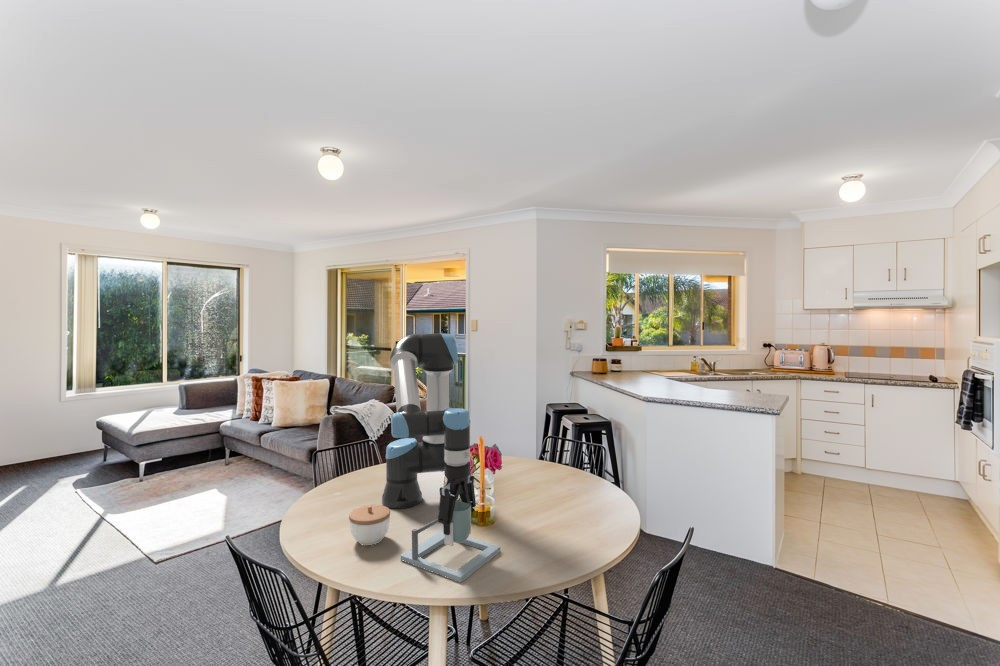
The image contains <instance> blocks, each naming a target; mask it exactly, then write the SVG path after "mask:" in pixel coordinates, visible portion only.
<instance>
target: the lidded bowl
mask: <svg viewBox="0 0 1000 666" xmlns="http://www.w3.org/2000/svg"><path fill="white" fill-rule="evenodd" d="M390 509H391V508H389V507H386V506H384V505H383V504H368V505H362V506H360V507H357V508H355V509H353V510H351V512H349V515H348V519H349V528H350V533H351V536H352V537H353V539H355V541H356V542H358V544H359V543H360V544H363V545H371V546H373V545H372V544H375V545H377V544H376V543H378V542H380V541H381V542H382V540H383V539H384V538H385V536H386V535H387V533H388V531H389V529H390V522H391V521H390V520H391V510H390ZM381 542H380V543H381ZM360 544H359V545H360ZM378 544H379V543H378ZM363 545H362V546H363Z"/></svg>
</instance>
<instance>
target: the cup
mask: <svg viewBox="0 0 1000 666" xmlns="http://www.w3.org/2000/svg"><path fill="white" fill-rule="evenodd" d="M451 522H452V523H453V543H456V544H457V543H458V544H459V543H460V542H463V541H465V540H466V539H467V538H468V537H470V535H471V534H470V529H471V530H472V512H471V505H470V504H469V503H464V502H462V501H461V500H458V501H457V500H456V503H455V507H454V511H453V516H452V521H451ZM469 534H470V535H469Z"/></svg>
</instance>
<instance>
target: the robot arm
mask: <svg viewBox="0 0 1000 666" xmlns="http://www.w3.org/2000/svg"><path fill="white" fill-rule="evenodd" d="M389 356H390V358H389V363H390V364H389V365H390V368H391V369H392V370H393V377H394V380H393V381H394V392H395V393H394V394H395V404H396V412H394V413H392V414H391V415H390V423H391V426H390V427H391V436H392V437H393V438H395V439H397V440H394V441H391V442H390V443H389V444H388V445H387V446H386V448H385V453H386V454H385V459H386V463H385V464H386V465H385V467H386V468H385V470H386V474H385V475H386V476H385V477H386V483H385V486H384V489H383V490H384V491H383V494H382V495H381V503H382V504H381V505H382V506H386V507H388V508H389V509H407V508H412V507H415V506H417V505H419V504H420V503H422V500H423V493H422V491H421V488H420V484H419V482H418V474H422V473H423V474H425V473H436V472H441V473H442V472H443V473H444V476H445V478H446V479H447V480H446V484H445V486H441V487H440V488H439V505H438V517H437V519H438V522H437V523H440V524H442V525H443V527H442V528H443V529H444V530H443V529H442V530H443V531H444V543H443V544H444V545H446V546H449V547H453V546H454V542H453V523H452V522H451V521H452V516H453V511H454V507H455V503H456V501H457V500H458V499H459V497H460V501H462V502H464V503H469V504H470V505H471V513H474V512H475V508H476V505H477V504H476V502H477V501H476V493H475V485H474V483H475V476H474V475H471V463H470V461H471V455H470V454H471V452H470V450H471V445H470V444H471V442H470V441H471V440H470V439H471V436H470V435H471V431H470V430H471V419H470V418H471V417H470V412H469V410H468V409H466V408H462V407H461V408H459V407H456V408H453V407H450V373H452V371H454V365H457V364H458V361H459V356H458V346H457V343H456V340H455V337H454V335H452V334H451V333H419V334H418V333H413V334H409V335H405V336H403V337H402V338H401V339H399V341H398V342H397V343H396V344H395V345H394V346H393V348H392V350H391V353H390V355H389ZM417 366H422V371H423V372H425V374H426V411H422V408H421V400H420V394H419V393H420V392H419V385H418V384H419V383H418V378H417V369H416V368H417ZM418 437H419V438H420V437H422V441H420V442H419V441H418V440H417V439H416V438H418ZM398 438H400V439H398ZM471 534H472V528H471V529H470V534H469V536H470V535H471Z"/></svg>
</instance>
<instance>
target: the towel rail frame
mask: <svg viewBox="0 0 1000 666" xmlns="http://www.w3.org/2000/svg"><path fill="white" fill-rule="evenodd" d="M438 523H439V522H438V518H435V519H434V520H432V521H430V522H428V523H427V524H426V525H424V526H422V527H420V528H418V529H417V528H413V529H412V530H411V548H410V549H409V550H407V551H405V552H403V553H402V554H400V557H399V558H400V561H401V560H404V561H406V562H409V563H411V564H414V565H416V566H415V567H417V566H419V567H418V568H420V567H422V568H425V569H427V570H426V571H428V570H430V571H433V572H435V573H434V574H436V573H438V574H440V575H439V576H441V575H443V576H442V577H444V576H446V577H448V578H447V579H449V578H451V579H450V580H452V579H454V580H453V581H455V580H456V581H455V582H457V581H458V582H457V583H460V582H461V583H463V581H465V580H466V579H467V578H469V577H470V576H471V575H473V574H474V573H475V572H476V571H477V570H479V569H480V568H482V567H483V566H484V565H485V564H487V563H488V562H489V561H490V560H491V559H492V558H494V557H496V555H498V554H499V553H500V552H501V546H499V545H496V544H494V543H493V544H492V543H490V542H486V541H483V540H481V539H480V540H479V539H476V538H473V537H470V536H468V538H467V539H466V540H465V541H463V542H459V543H460V544H464V545H467V546H468V547H473V548H476V549H480V550H482V551H481V552H479V553H478V554H477V555H475V556H474V557H472V558H471V559H470V560H469V561H467V562H466V563H465V564H463V565H462V566H461V567H460V568H458V569H457V570H455V569H452V568H450V567H446V566H444V565H442V564H438V563H436V562H432V561H430V560H427V559H424V558H422V556H423V557H424V556H426V555H428V554H429V553H430V551H431V550H432V551H434V550H435V549H437V548H438V547H439V545H440V546H441V545H443V544H444V531H443V530H444V529H442V530H440V531H438V532H437V533H435V534H433V535H432V536H430V537H429V538H426V540H424V541H422V542H420V543H419V534H420V533H421V532H424V531H426V530H427V529H429V528H430V527H432V526H434V525H435V524H438ZM436 547H437V548H436ZM433 549H434V550H433ZM432 551H431V552H432ZM428 552H429V553H428ZM425 554H426V555H425ZM420 557H421V558H420ZM406 562H405V563H406ZM409 563H408V564H409ZM411 564H410V565H411ZM414 565H413V566H414ZM422 568H421V569H422ZM425 569H424V570H425ZM430 571H429V572H430ZM433 572H432V573H433ZM438 574H437V575H438ZM446 577H445V578H446Z"/></svg>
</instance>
